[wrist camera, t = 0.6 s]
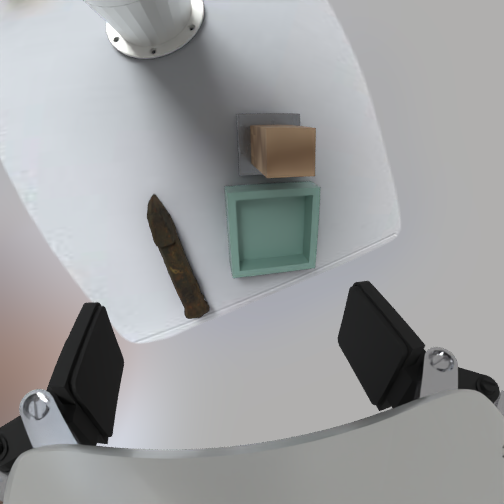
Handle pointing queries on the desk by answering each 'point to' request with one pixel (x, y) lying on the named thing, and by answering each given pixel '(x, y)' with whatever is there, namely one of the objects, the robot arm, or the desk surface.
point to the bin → (272, 227)
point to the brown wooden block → (283, 150)
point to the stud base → (245, 141)
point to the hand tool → (175, 259)
